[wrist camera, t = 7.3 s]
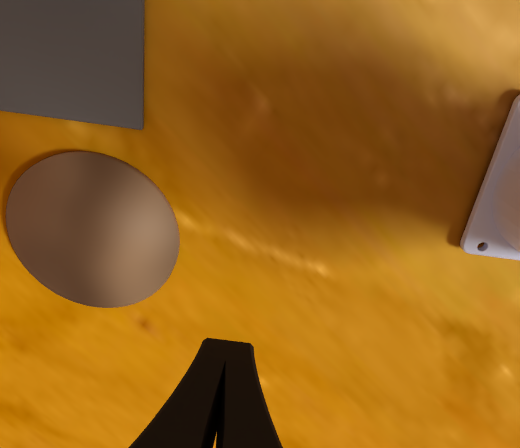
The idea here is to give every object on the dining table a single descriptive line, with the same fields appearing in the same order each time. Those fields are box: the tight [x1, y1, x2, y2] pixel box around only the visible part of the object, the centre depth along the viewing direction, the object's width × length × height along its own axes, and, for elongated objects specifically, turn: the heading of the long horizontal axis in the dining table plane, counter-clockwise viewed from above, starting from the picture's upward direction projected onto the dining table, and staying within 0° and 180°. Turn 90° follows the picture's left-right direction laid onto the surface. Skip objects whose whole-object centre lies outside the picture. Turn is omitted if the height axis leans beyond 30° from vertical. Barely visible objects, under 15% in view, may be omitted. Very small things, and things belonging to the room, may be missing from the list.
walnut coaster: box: [6, 151, 180, 308], centre depth 22 cm, size 9×9×1 cm
